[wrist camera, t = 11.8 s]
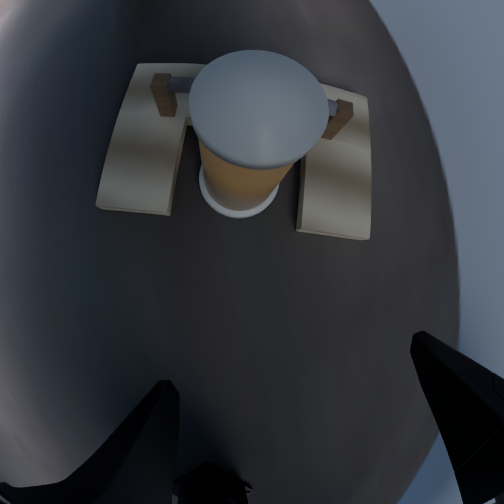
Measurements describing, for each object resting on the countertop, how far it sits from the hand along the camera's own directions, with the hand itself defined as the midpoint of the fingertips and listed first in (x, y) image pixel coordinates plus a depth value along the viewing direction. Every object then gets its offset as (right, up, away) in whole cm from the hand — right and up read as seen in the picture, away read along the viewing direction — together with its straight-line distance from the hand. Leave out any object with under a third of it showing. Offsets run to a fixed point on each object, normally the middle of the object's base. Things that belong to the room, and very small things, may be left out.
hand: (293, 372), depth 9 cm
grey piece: (-2, +13, +13) cm, 19 cm away
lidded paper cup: (-2, +10, +13) cm, 17 cm away
